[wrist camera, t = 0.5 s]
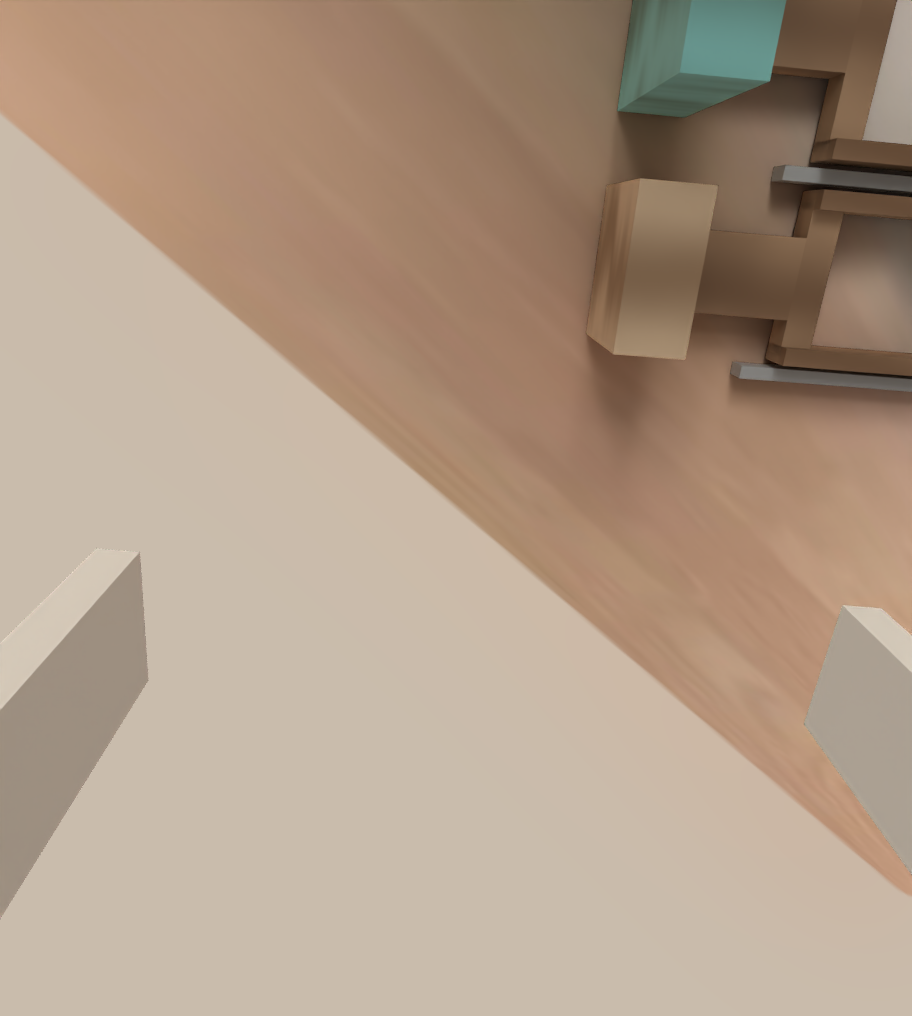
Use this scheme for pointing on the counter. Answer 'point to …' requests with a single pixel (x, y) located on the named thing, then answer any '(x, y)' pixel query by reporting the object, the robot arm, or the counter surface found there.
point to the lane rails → (825, 375)
